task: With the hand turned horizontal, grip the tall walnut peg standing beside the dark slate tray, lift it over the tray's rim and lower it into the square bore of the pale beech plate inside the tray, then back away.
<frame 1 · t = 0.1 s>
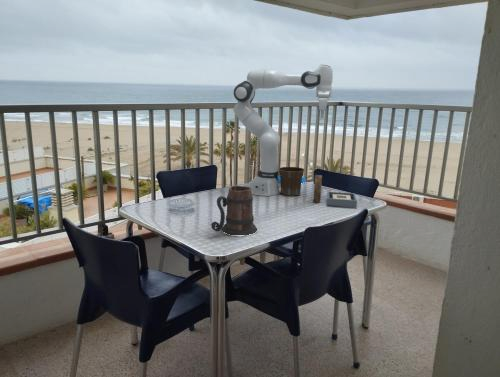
hand: (321, 118, 214), 48 cm above the table, tool pointing down, fingers open, 8 cm apart
tankard: (233, 231, 166), on the table
peg: (316, 202, 213), on the table
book: (285, 184, 258), on the table
tray: (341, 203, 211), on the table
plant pot: (290, 193, 231), on the table
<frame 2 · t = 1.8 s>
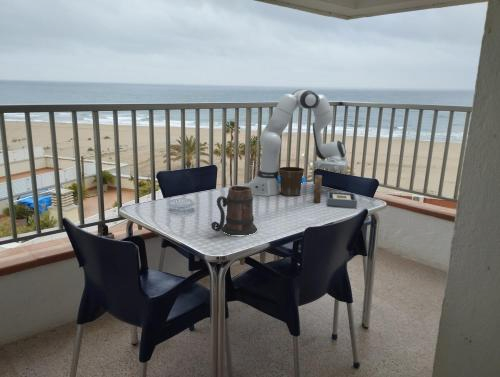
hand: (326, 167, 218), 19 cm above the table, tool horizontal, fingers open, 8 cm apart
nothing on the table moved.
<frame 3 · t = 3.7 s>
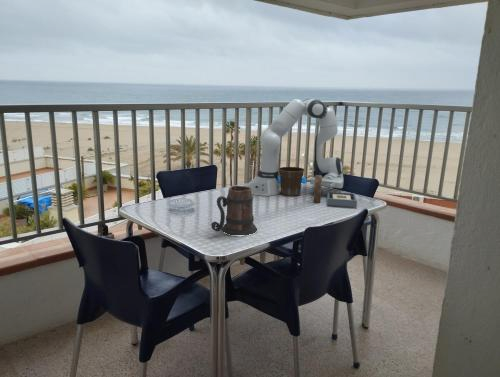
hand: (322, 184, 217), 9 cm above the table, tool horizontal, fingers open, 8 cm apart
nothing on the table moved.
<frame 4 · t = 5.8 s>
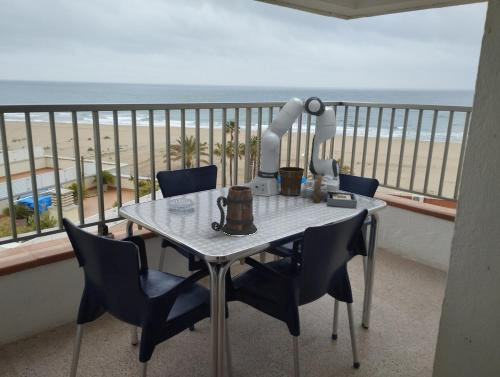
hand: (317, 187, 210), 9 cm above the table, tool horizontal, fingers closed on peg, 4 cm apart
peg: (316, 202, 213), on the table, touching gripper
everything else where it was.
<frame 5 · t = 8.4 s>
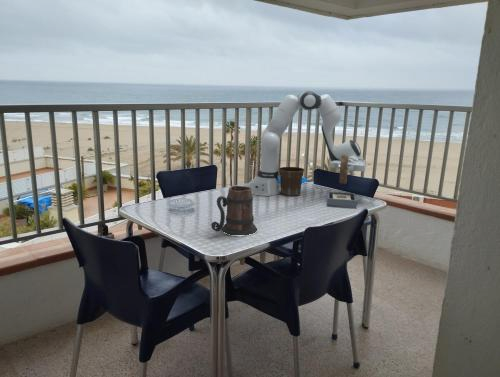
hand: (343, 168, 205), 21 cm above the table, tool horizontal, fingers closed on peg, 4 cm apart
peg: (342, 183, 208), point 12 cm above the table, touching gripper
when the fingers open (11 cm above the table, at t = 11.1 s): peg stays where it is, resting on tray.
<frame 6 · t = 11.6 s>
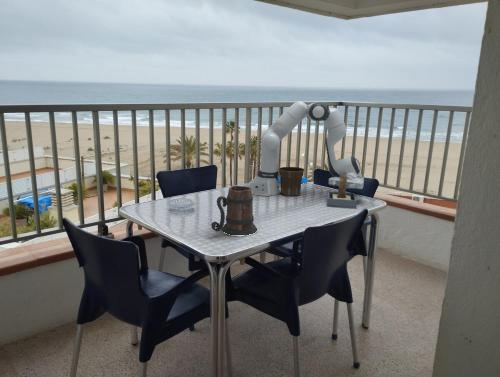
hand: (342, 185, 208), 11 cm above the table, tool horizontal, fingers open, 8 cm apart
peg: (341, 201, 211), point 1 cm above the table, touching tray
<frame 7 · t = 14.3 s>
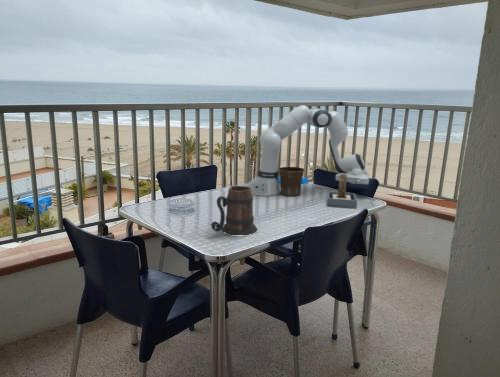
hand: (348, 181, 219), 11 cm above the table, tool horizontal, fingers open, 8 cm apart
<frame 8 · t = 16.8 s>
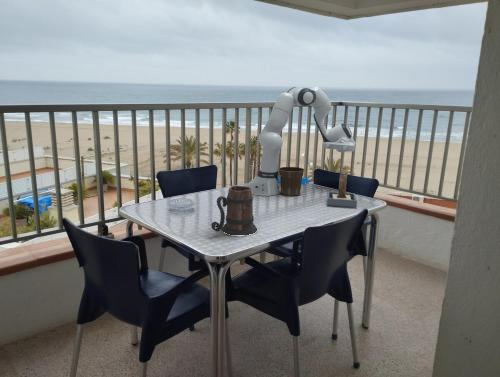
hand: (335, 147, 222), 30 cm above the table, tool horizontal, fingers open, 8 cm apart
at the end: peg 0.0 cm off-centre on the tray, point 1.0 cm above the tray's base; peg tilted 0°; the gripper is holding nothing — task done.
